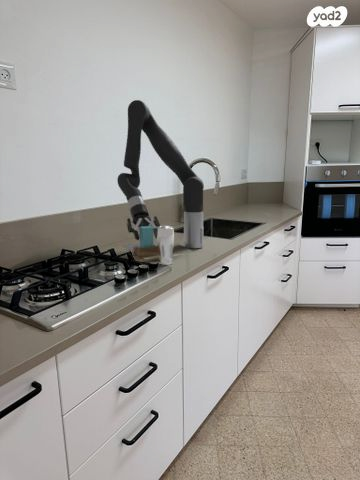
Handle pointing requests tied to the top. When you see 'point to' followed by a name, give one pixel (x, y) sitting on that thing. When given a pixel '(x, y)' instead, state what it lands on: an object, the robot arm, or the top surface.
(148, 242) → the teal block
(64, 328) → the top surface
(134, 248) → the walnut bracket
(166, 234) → the beer glass
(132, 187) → the robot arm
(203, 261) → the top surface
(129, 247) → the pad
